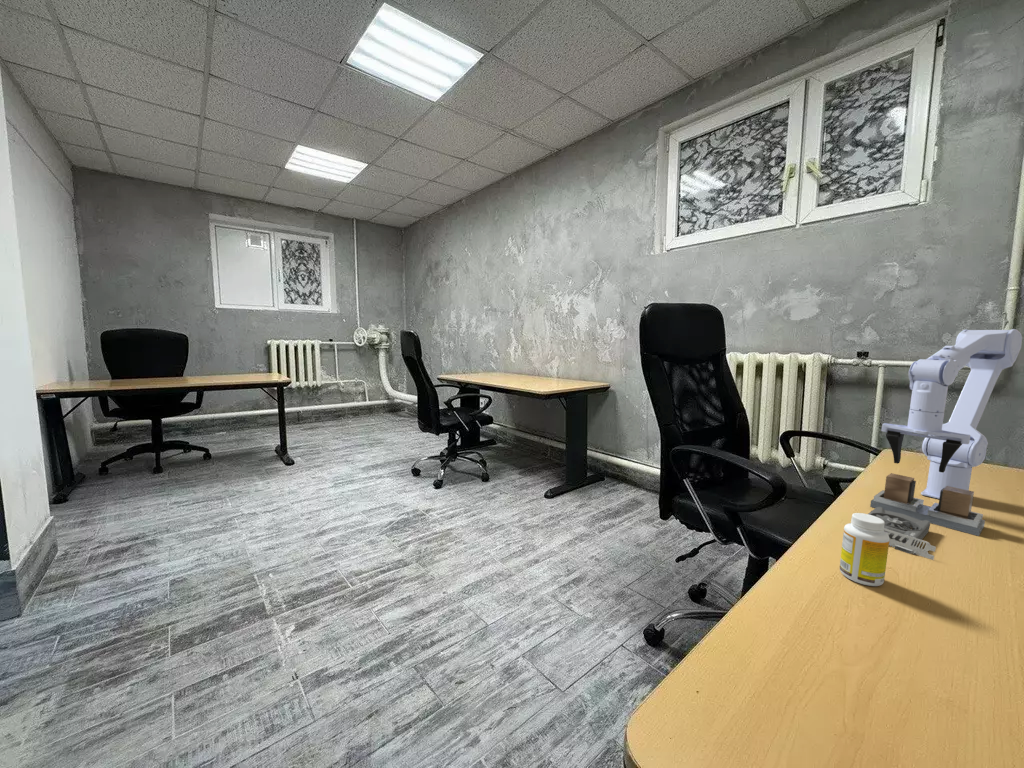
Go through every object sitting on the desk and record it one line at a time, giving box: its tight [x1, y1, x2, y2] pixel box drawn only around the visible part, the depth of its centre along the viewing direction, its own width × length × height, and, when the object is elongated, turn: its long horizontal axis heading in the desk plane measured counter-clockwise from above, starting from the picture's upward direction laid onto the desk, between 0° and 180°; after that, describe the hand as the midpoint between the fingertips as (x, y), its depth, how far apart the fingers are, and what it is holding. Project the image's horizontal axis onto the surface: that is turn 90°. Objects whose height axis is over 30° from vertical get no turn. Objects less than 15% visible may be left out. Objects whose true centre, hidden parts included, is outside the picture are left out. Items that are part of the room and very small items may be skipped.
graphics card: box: [867, 507, 937, 561], centre depth 81 cm, size 17×4×12 cm
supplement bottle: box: [839, 512, 890, 587], centre depth 66 cm, size 6×6×10 cm
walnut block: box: [884, 472, 917, 504], centre depth 94 cm, size 4×4×6 cm
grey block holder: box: [869, 486, 986, 537], centre depth 91 cm, size 8×17×8 cm, turn 36°
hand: (918, 466), depth 97 cm, fingers open, 7 cm apart
